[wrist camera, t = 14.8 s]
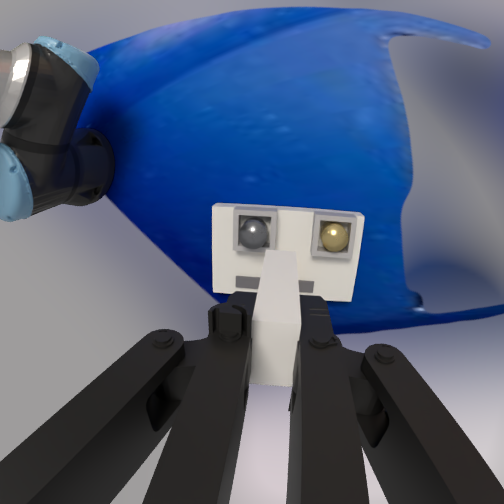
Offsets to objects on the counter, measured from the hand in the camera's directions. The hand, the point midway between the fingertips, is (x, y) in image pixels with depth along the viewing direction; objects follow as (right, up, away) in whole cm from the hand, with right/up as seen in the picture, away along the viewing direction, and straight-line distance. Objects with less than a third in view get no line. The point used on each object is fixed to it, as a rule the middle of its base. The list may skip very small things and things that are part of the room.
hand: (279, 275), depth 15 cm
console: (+4, +2, +36) cm, 36 cm away
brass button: (+11, +4, +30) cm, 33 cm away
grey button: (-1, +4, +30) cm, 30 cm away
